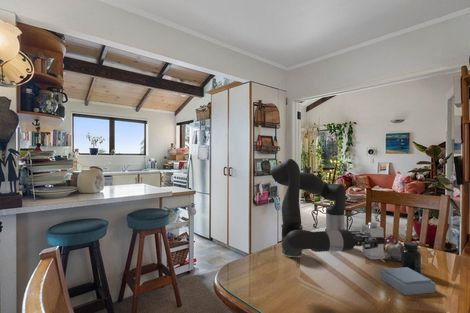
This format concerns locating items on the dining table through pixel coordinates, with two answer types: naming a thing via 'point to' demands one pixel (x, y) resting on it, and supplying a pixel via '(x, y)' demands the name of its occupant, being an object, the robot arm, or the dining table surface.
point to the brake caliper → (392, 249)
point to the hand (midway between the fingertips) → (379, 237)
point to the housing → (373, 232)
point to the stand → (407, 281)
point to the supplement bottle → (411, 257)
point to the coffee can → (286, 253)
